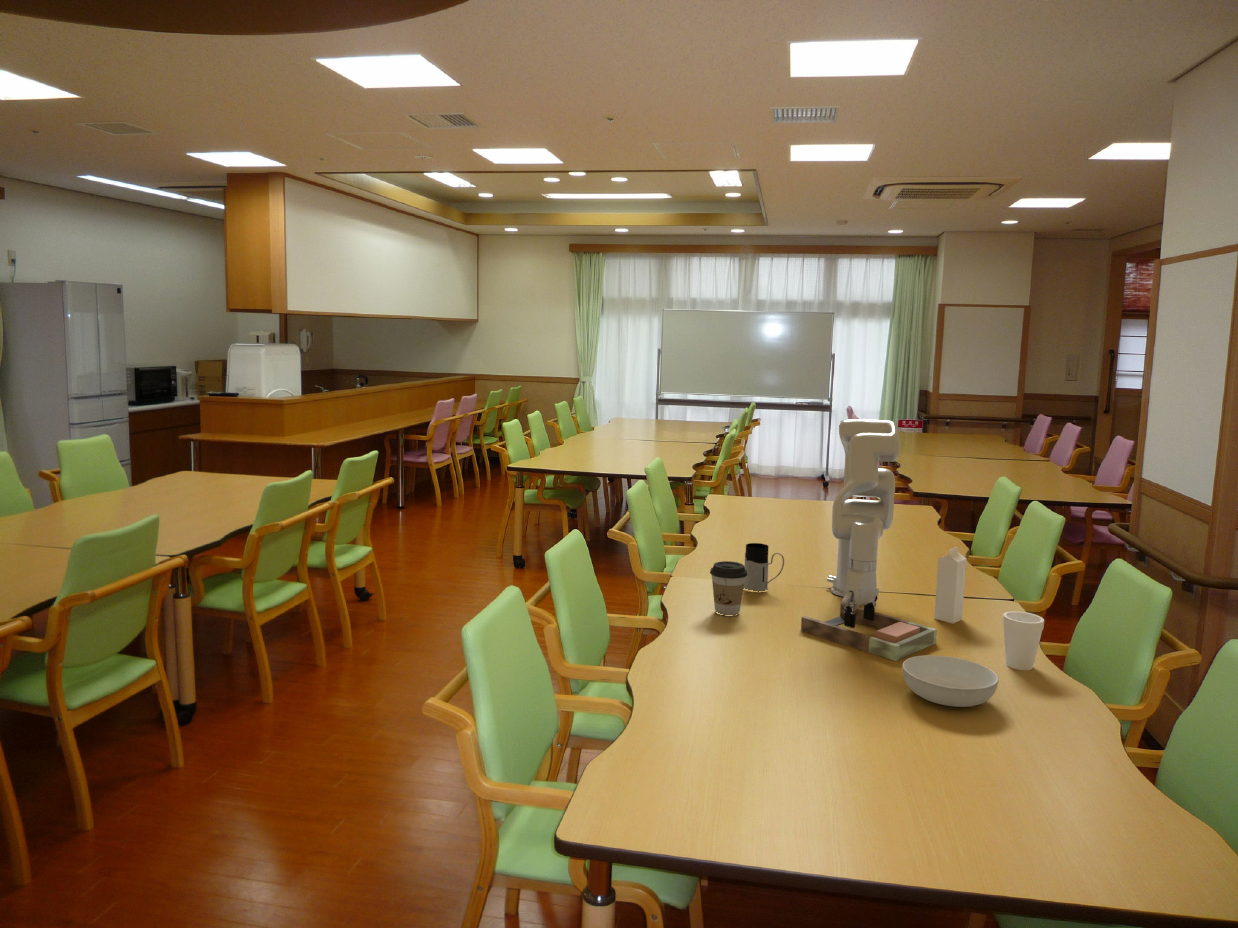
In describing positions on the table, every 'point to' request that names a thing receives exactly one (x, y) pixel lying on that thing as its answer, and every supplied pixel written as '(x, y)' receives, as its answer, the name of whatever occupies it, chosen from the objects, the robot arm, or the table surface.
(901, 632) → the terracotta block
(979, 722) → the table surface
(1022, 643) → the foam cup
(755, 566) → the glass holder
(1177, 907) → the table surface
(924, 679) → the serving bowl
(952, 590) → the milk
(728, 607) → the coffee cup
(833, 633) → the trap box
